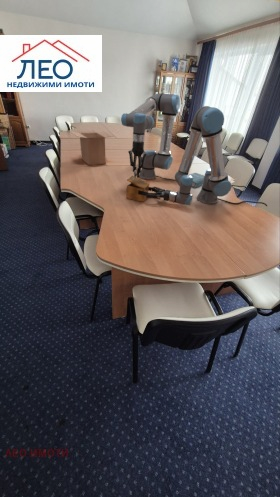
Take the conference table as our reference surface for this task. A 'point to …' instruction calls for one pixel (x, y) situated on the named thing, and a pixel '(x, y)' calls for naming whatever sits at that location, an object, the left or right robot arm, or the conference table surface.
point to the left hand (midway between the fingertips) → (136, 176)
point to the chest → (136, 192)
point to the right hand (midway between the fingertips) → (140, 189)
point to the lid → (137, 181)
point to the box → (92, 146)
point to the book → (197, 179)
